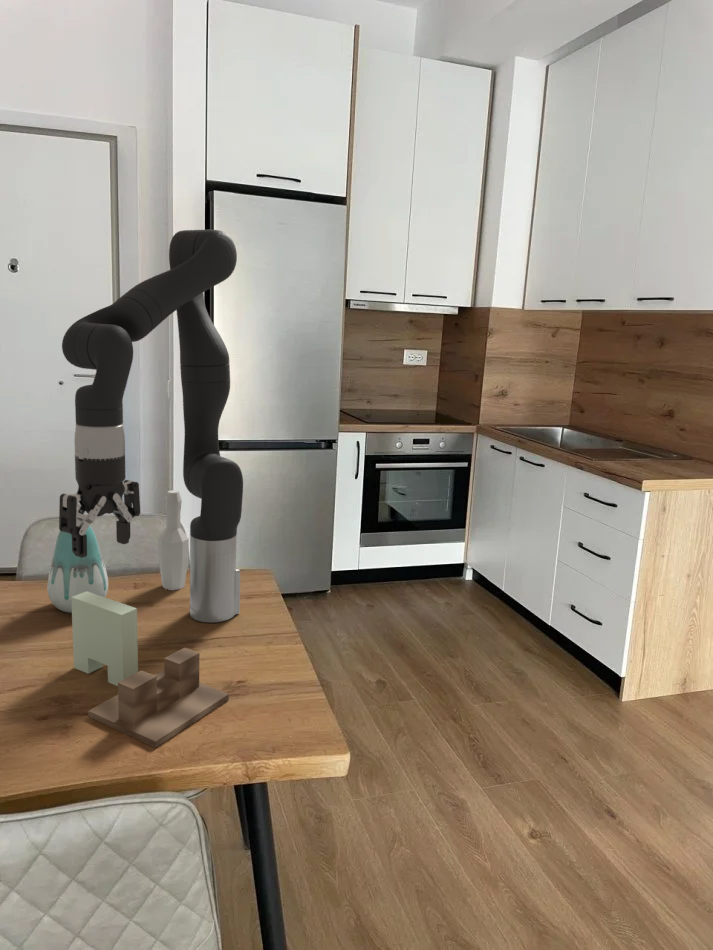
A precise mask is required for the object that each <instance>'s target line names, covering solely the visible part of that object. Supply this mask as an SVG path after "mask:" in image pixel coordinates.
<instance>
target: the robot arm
mask: <svg viewBox="0 0 713 950" xmlns="http://www.w3.org/2000/svg"><path fill="white" fill-rule="evenodd" d="M237 253H238V252H237V249H236V244H235V242H234V240H233V239H232V237H231V236H230V235H229V234H228V233H227V232H225V231H222V230H219V229H185V230H179V231H177V232H175V234H173V236H172V238H171V241H170V242H169V249H168V261H169V262H168V263H169V264H168V265H169V269H168V270H166V271H164V272H162V273H159V274H155V275H154V276H152V277H149V278H148V279H145V280H143V281H141V282H139V283H138V284H136V285H135V286H133V287H132V288H131V289H129V290H128V291H127V292H125V293H124V294H123V295H122V296H120V297H118V299H117V300H115V302H113V303H112V304H110V305H108V306H105V307H102V308H100V309H98V310H96V311H93V312H92V313H90V314H87V315H85V316H83V317H81V318H80V319H78V320H76V321H75V322H73V323H72V324H71V325H70V326H69V328H68V329H67V330H66V331H65V333H64V334H63V335H64V336H63V338H62V343H61V351H62V354H63V356H64V358H65V360H66V361H67V362H68V363H70V364H71V365H73V366H74V367H75V368H76V367H77V368H80V369H86V370H96V371H95V375H94V379H93V382H92V384H87V385H82V386H80V387H79V388H77V390H76V392H75V395H74V405H75V406H74V407H75V431H74V441H73V442H74V466H75V467H74V468H75V469H74V470H75V471H74V472H75V474H74V475H75V477H74V478H75V481H76V483H77V486H78V487H77V492H76V493H73V494H72V493H71V494H66V493H61V494H60V496H59V505H58V506H59V513H58V514H59V515H58V518H59V521H58V529H59V532H60V531H62V532H66V533H69V534H71V535H72V551H73V553H74V554H75V555H76V556H78V557H81V558H83V557H86V556H87V535H86V534H85V533H86V531H87V529H88V527H89V525H90V526H91V524H93V523H95V521H96V518H97V517H102V516H103V515H106V514H113V515H114V517H115V518H116V521H115V522H116V523H115V524H116V525H115V526H116V528H115V529H116V541H117V543H119V544H121V545H126V544H129V543H130V539H131V522H132V520H133V519H134V518H135V517H139V516H140V515H141V501H140V499H141V498H140V496H141V495H140V484H139V482H137V481H133V480H129V479H126V437H125V430H124V408H123V407H124V406H123V405H124V404H123V399H124V396H125V392H126V387H127V384H128V379H129V377H130V376H129V375H130V373H131V368H132V365H133V360H134V347H133V346H134V345H133V343H134V342H138V341H140V340H141V341H142V340H143V339H144V338H146V337H147V336H148V335H149V334H150V333H151V332H152V331H154V329H156V328H157V327H158V326H159V325H160V324H161V323H163V322H164V320H166V319H167V318H168V317H169V316H170V315H172V314H173V313H174V312H176V317H177V319H176V320H177V331H178V340H179V342H178V344H179V365H180V366H179V368H180V380H181V381H180V382H181V390H182V391H181V392H182V406H183V407H182V409H183V412H182V413H183V425H184V439H183V443H184V444H183V462H182V463H183V464H182V470H183V471H182V477H183V482H184V485H185V487H186V490H187V491H188V492H189V493H190V494H191V495H193V497H194V496H195V497H196V498H199V499H201V501H200V502H201V503H200V512H199V513H200V514H199V516H197V517H195V518H193V519H192V520H191V522H190V524H189V525H190V526H189V528H190V529H189V534H190V535H189V616H190V617H191V618H192V619H194V621H198V622H202V623H220V622H225V621H228V620H230V619H232V618H233V617H235V616H236V615H238V614H240V607H241V606H240V604H241V601H240V599H241V594H240V593H241V570H240V569H239V568H237V551H238V549H237V543H238V541H237V539H238V526H239V524H240V522H241V520H242V519H241V518H242V511H243V496H244V495H243V494H244V477H243V473H242V469H241V467H240V466H239V464H238V463H236V462H235V461H233V460H232V459H230V458H226V457H224V456H221V453H220V446H219V445H220V444H219V425H220V420H221V417H222V415H223V411H224V410H225V406H226V405H227V401H228V399H229V395H230V390H231V371H230V369H231V367H230V355H229V351H228V349H227V346H226V344H225V342H224V340H223V338H222V336H221V334H220V333H219V331H218V330H217V328H216V326H215V324H214V323H213V321H212V319H211V317H210V315H209V312H208V309H207V308H206V307H207V306H206V302H205V295H204V292H206V291H208V290H210V289H211V288H213V287H216V286H217V285H219V284H221V283H222V282H224V281H225V280H228V278H230V277H231V276H232V274H233V273H234V271H235V269H236V265H237V259H238V258H237V257H238V254H237ZM122 497H123V500H124V501H123V500H122ZM85 513H87V514H85ZM81 522H82V523H81ZM80 524H81V525H80ZM79 526H80V527H79Z"/></svg>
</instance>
